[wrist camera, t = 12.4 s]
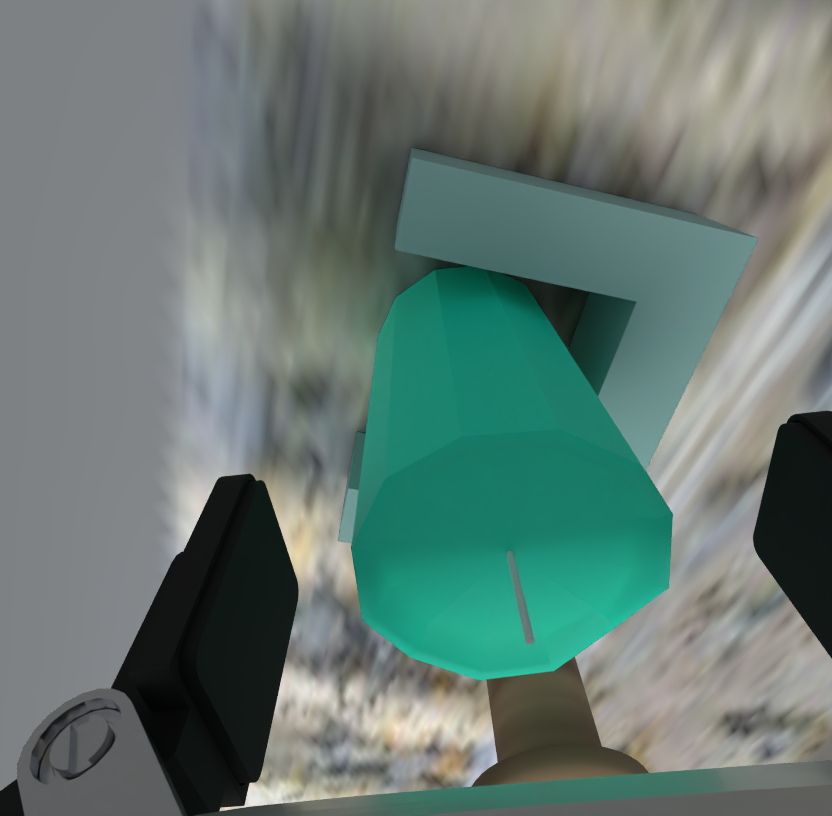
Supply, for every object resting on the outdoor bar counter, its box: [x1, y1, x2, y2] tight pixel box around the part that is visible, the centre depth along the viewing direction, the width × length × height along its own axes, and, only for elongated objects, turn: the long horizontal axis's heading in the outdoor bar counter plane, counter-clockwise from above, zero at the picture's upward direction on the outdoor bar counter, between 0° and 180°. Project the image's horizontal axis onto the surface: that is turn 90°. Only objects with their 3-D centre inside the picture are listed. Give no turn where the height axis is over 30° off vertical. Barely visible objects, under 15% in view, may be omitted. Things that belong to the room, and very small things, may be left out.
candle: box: [351, 266, 673, 680], centre depth 14 cm, size 6×6×12 cm
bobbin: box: [472, 656, 649, 787], centre depth 22 cm, size 6×6×9 cm
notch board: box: [338, 148, 759, 543], centre depth 18 cm, size 12×9×4 cm
